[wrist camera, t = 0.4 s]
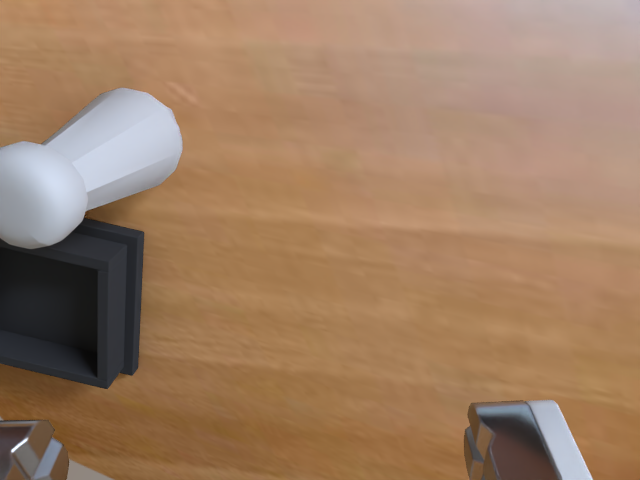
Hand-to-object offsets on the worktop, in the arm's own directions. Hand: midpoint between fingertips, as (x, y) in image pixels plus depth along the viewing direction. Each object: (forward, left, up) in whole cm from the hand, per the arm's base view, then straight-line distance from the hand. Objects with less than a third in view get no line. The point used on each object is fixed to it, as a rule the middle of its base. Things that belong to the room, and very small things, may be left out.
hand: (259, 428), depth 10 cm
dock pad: (+15, -18, -23) cm, 32 cm away
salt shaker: (+2, -12, -23) cm, 26 cm away
